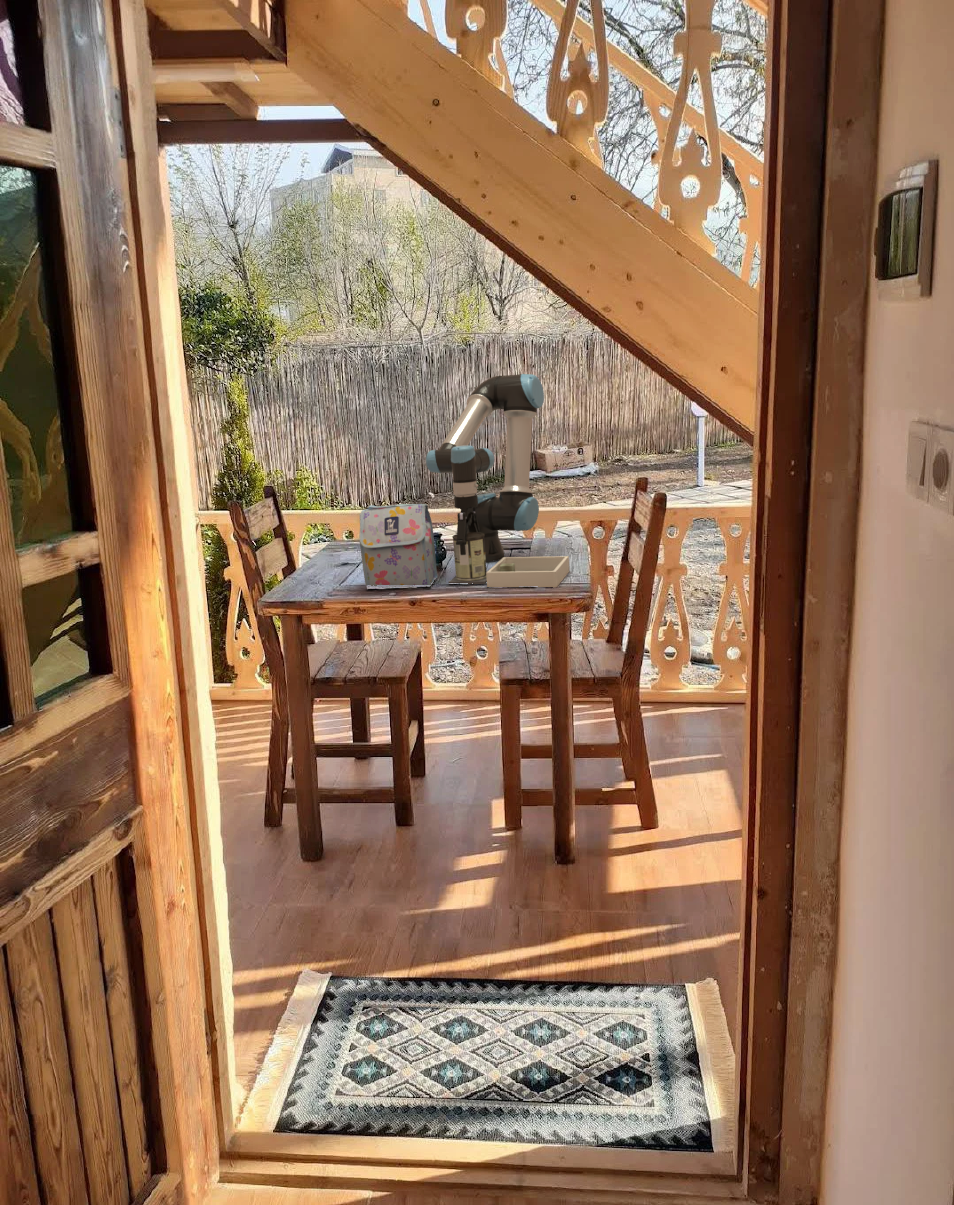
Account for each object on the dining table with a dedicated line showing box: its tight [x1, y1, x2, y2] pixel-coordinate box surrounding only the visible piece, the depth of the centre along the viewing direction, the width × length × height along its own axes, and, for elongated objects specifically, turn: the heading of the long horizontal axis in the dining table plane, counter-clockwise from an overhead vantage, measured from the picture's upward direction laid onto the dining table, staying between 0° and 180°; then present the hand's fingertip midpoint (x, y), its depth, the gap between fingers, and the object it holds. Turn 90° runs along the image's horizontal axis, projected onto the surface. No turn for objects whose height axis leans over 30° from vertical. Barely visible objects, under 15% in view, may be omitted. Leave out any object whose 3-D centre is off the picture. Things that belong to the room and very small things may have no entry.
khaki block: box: [500, 563, 515, 572], centre depth 333 cm, size 4×4×5 cm
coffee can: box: [452, 532, 487, 581], centre depth 334 cm, size 10×10×14 cm
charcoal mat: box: [448, 575, 487, 585], centre depth 336 cm, size 12×12×1 cm
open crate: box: [486, 555, 570, 589], centre depth 331 cm, size 22×24×5 cm
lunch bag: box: [359, 503, 439, 586], centre depth 332 cm, size 22×17×26 cm
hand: (470, 560), depth 334 cm, fingers open, 13 cm apart
